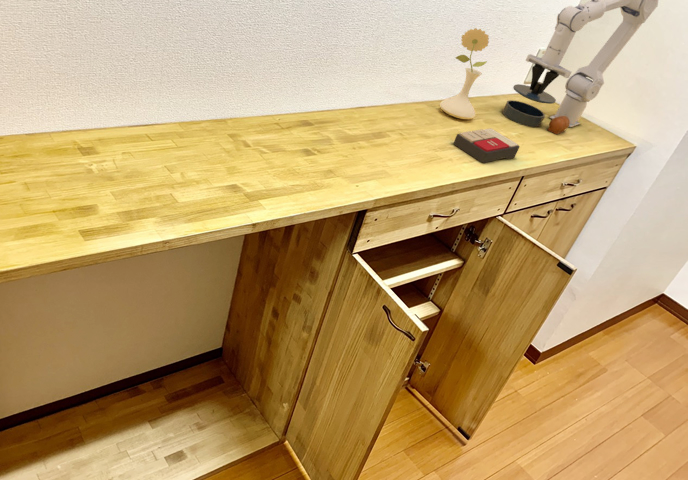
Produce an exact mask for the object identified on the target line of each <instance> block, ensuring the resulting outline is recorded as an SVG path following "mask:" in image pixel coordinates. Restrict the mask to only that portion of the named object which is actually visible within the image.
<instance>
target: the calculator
mask: <svg viewBox="0 0 688 480" xmlns="http://www.w3.org/2000/svg"><path fill="white" fill-rule="evenodd" d="M452 144H453V145H454V146H456V147H457V148H458V149H460V150H462V151H463V152H465V153H466V154H467V155H470V156H471V157H473V158H474V159H475V160H477V161H479V162H480V163H482V164H484V163H488V162H493V161H497V160H502V159H506V160H510V159H514V158H515V157H516V156H517V153H518V152H519V149H520V145H519V143H517V142H515V141H514V140H512V139H510V138H508V137H506V136H505V135H503V134H501V133H500V132H498V131H496V130H495V129H493V128H484V129H483V128H481V129H475V130H472V131H471V130H469V131H463V132H460V133H457V134H456V136H455V138H454V141H453V143H452Z"/></svg>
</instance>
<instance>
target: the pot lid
mask: <svg viewBox="0 0 688 480" xmlns="http://www.w3.org/2000/svg"><path fill="white" fill-rule="evenodd" d="M542 83H543V82H540V81H538V82H536V83H535V85H534V87H533V89H532V90H530V86H531V85H530V86H529V85H525V84H514V85H513V87H512V89H513V90H514V91H515V92H516V93H517V94H519V95H520V96H522V97H523V98H525V99H528V100H530V101H533V102H536V103H540V104H549V105H551V104H552V105H553V104H555V103H556V101H557V100H556V98H555V97H554V96H552V95H551V94H550V93H548V92H546V91H545V90H544V91H543V93H541V94H539V93H538V91H539V89H540V87H541V85H542Z"/></svg>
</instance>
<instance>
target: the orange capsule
mask: <svg viewBox="0 0 688 480" xmlns="http://www.w3.org/2000/svg"><path fill="white" fill-rule="evenodd" d="M569 124H570V121H569V119H568V118H567V117H566V116H559V117H556V118H553V119H551V120H550V121H549V123H548V128H547V131H548V132H551V133H552V134H555V135H558V134H561V133H564V132H565V131H566V130H567V129H568V128H570V127H569Z"/></svg>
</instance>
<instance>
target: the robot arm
mask: <svg viewBox="0 0 688 480" xmlns="http://www.w3.org/2000/svg"><path fill="white" fill-rule="evenodd" d="M658 5H659V0H589V1H586V2H584V3H583V2H582V3H579V4H578V5H576V6H573V5H569V6H566V7H564V8H563V9H562V10H561V11H560V12H559V13H558V14H557V16H556V24H555V27H554V32H553V34H552V36H551V38H550V40H549V42H548V44H547V46H546V48H545V50H544V53H543V54H542V57H539V56H537V55H533V54H532V53H531V54H528V55H527V56H526V59H525V62H528V63H532V64H534V65H533V66H532V67H531V74H532V75H531V82H530V90H532V89H533V87H534V85H535V83H536V82H539V80H540V78H541V76H542V75H543V73H544V72H545V70H548V71H546V73H545V76H544V79H543V81H542V82H541V83H542V85H541V87H540V89H539V91H538V93H539V94H541V93H543V91H544V92H545V90H546V89H547V87H548V86H550V85H551V83H552V82H553V81H555V79H557V78H558V77H559V76H561V77H563V78H565V79H567V80H566V82H565V88H564V89H565V91H564V93H565V96H564V97H563V99H562V100H561V103H560V104H559V106H558V108H557V109H556V112H555V114H554V115H551V116H549V119H551V120H552V119H553V118H556V117H559V116H566V117H567V118H568V119H569V121H570V124H569V127H568V128H572V127H575V126H578V125H580V124H581V122H579V121H580V118H581V116H582V115H583V113H584V112H585V110H586V107H587V104H588V103H589V102H590V101H592V100H594V99H595V98H596V97H597V96H598V94H599V92H600V90H601V88H602V87H603V85H604V84H605V81H604V76H603V74H604V73H605V72H606V70H607V69H608V67H609V66H610V65H611V64H612V62H613V61H614V60H615V59H616V57H617V56H618V55H619V54H620V53H621V51H622V50H623V49H624V48H625V47H626V45H627V43H628V42H629V41H630V40H631V39H632V37H634V35H635V34H636V33H637V31H638V30H639V29H640V27H642V25H643V24H644V23H645V22H646V21H647V20H648V19H649V18H650V16H651V15H652V14H653V12H655V10H656V8H657V7H658ZM616 9H620V13H621V15H622V21H621V23H620V24H619V25H618V26H617V28H616V29H615V31H613V33H612V34H611V35H610V37H609V38H608V39H607V40H606V42H605V43H604V44H603V46H602V47H601V48H600V50H599V51H598V52H597V54H596V55H595V56H594V58H593V59H592V60H591V61H590V62H589V64H588V65H586V66H581V67H579V68H577V70H576V71H575V72H574V73H572V71H571V70H568V69H567V68H565V67H564V66H561V65H560V64H561V63H562V60H563V58H564V56H565V54H566V53H567V51H568V49H569V47H570V45H571V42H572V41H573V39H574V37H575V35H576V33H577V32H580V31H581V30H582V29H583V28H584V27H585V26H586V25H587V24H588V23H590V22H593V21H595V20H599V19H601V18H602V17H603V16H604V14H605V13H606V12H609V11H612V10H616Z"/></svg>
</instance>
